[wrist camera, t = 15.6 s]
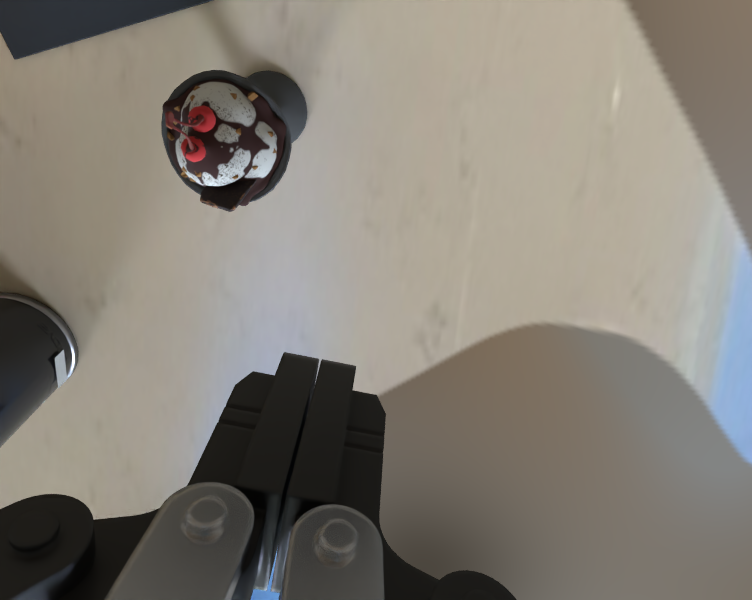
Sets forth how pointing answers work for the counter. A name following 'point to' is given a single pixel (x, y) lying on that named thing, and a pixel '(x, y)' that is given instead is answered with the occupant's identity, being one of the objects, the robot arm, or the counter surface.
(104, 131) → the counter surface
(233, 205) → the sundae
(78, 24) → the mat
